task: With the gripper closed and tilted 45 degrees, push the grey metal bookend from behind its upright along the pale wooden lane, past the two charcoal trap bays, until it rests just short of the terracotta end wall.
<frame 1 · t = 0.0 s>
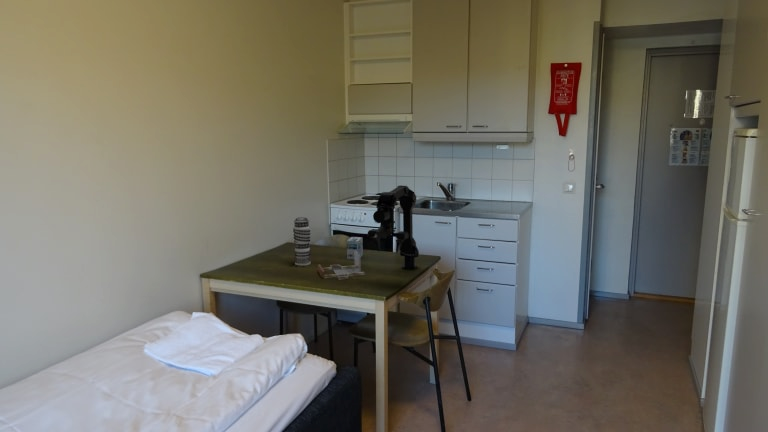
hand: (387, 252, 245), 15 cm above the table, tool pointing down, fingers open, 9 cm apart
light bulb box: (355, 257, 294), on the table
decorative candle: (302, 263, 281), on the table
trap lane: (341, 273, 263), on the table
bookend: (346, 273, 263), on the table
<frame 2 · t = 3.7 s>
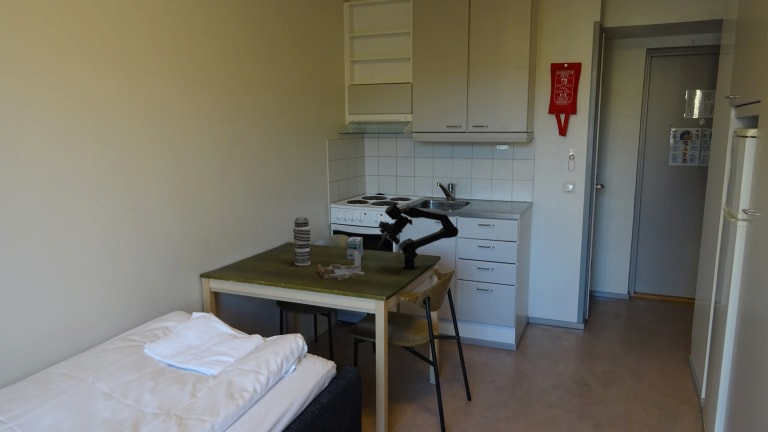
hand: (378, 248, 266), 11 cm above the table, tool tilted 45°, fingers closed
nothing on the table moved.
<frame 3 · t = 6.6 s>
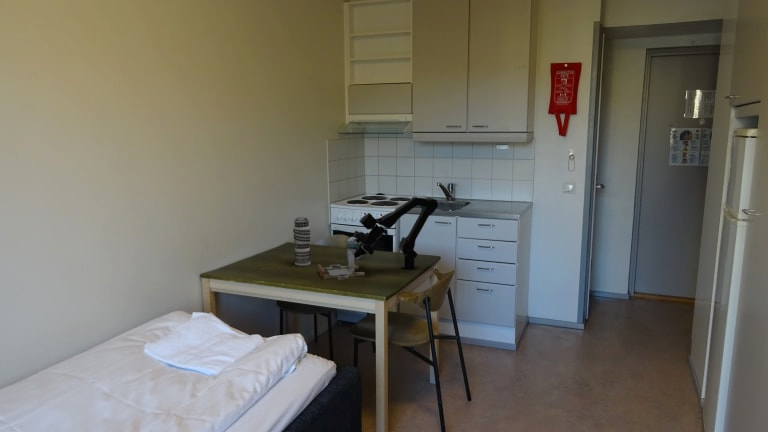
hand: (352, 258, 263), 7 cm above the table, tool tilted 45°, fingers closed
bookend: (340, 273, 263), on the table
everything else where it was.
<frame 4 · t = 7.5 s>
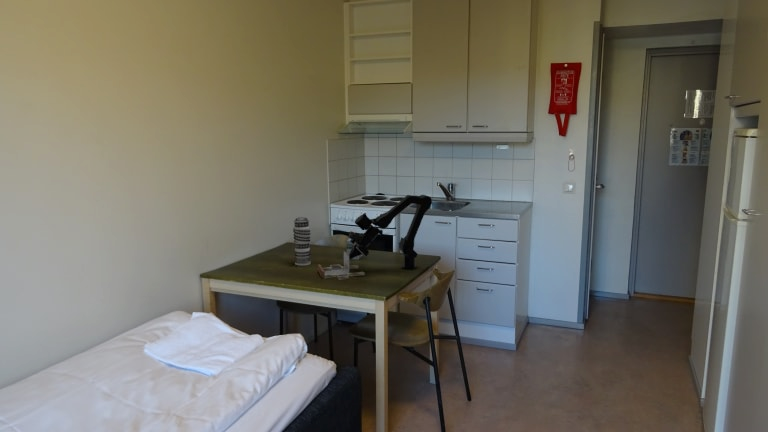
hand: (347, 258, 262), 7 cm above the table, tool tilted 45°, fingers closed
bookend: (335, 273, 262), on the table
everything else where it was.
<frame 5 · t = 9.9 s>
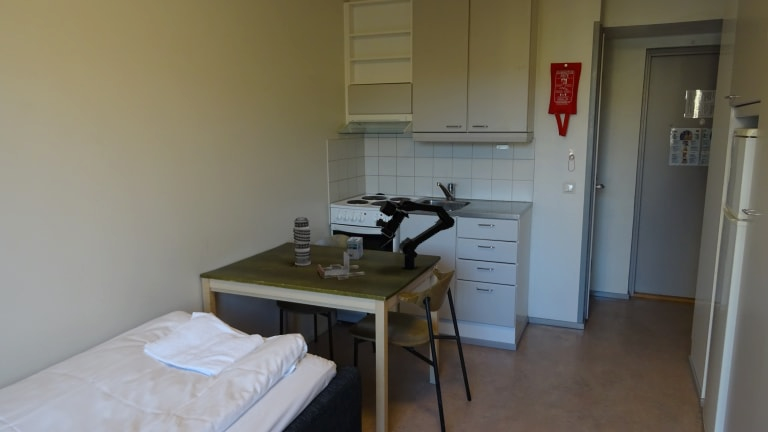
hand: (379, 247, 266), 12 cm above the table, tool tilted 35°, fingers closed
nothing on the table moved.
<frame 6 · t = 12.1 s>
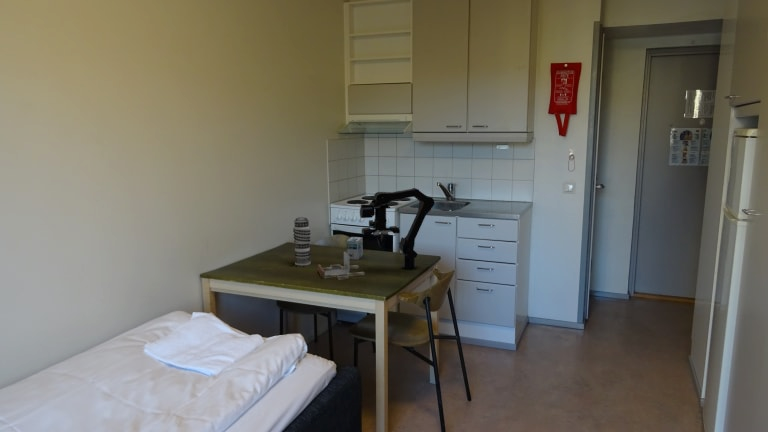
hand: (380, 247, 266), 12 cm above the table, tool pointing down, fingers closed
nothing on the table moved.
at the end: bookend 0.1 cm from the target spot, on the table; bookend tilted 0° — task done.
